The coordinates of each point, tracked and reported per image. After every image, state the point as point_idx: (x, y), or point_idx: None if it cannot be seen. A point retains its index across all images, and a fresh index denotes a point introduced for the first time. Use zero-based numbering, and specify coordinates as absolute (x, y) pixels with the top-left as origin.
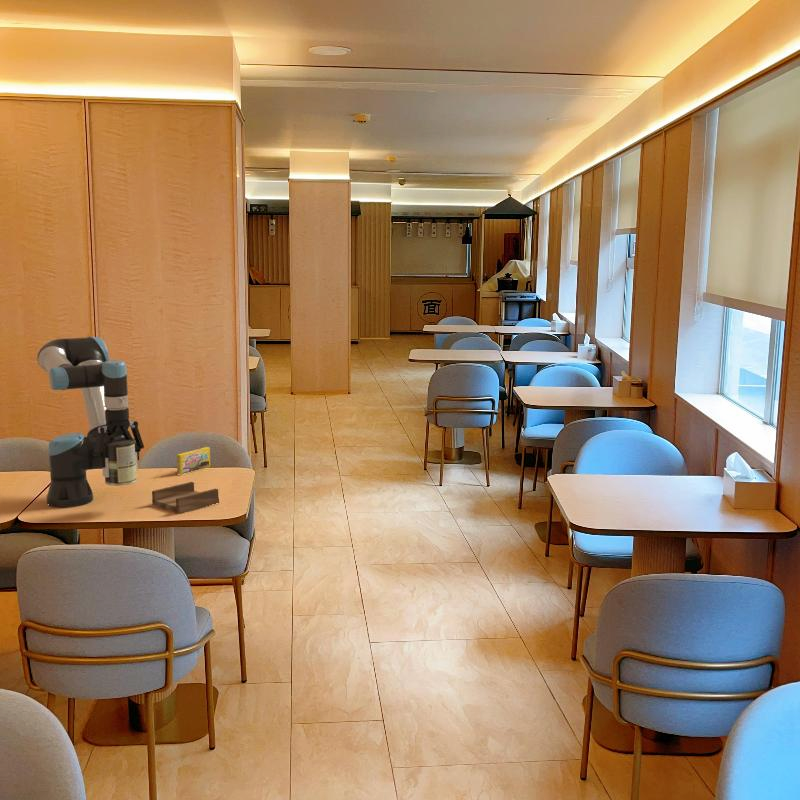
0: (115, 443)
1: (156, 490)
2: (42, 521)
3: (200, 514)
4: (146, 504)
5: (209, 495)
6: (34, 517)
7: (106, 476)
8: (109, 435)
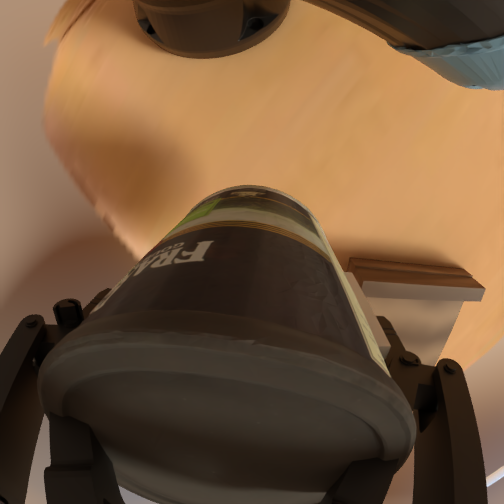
0: (143, 481)
1: (376, 286)
2: (56, 136)
3: None
4: (347, 233)
5: None
6: (63, 84)
7: None
8: (86, 501)
